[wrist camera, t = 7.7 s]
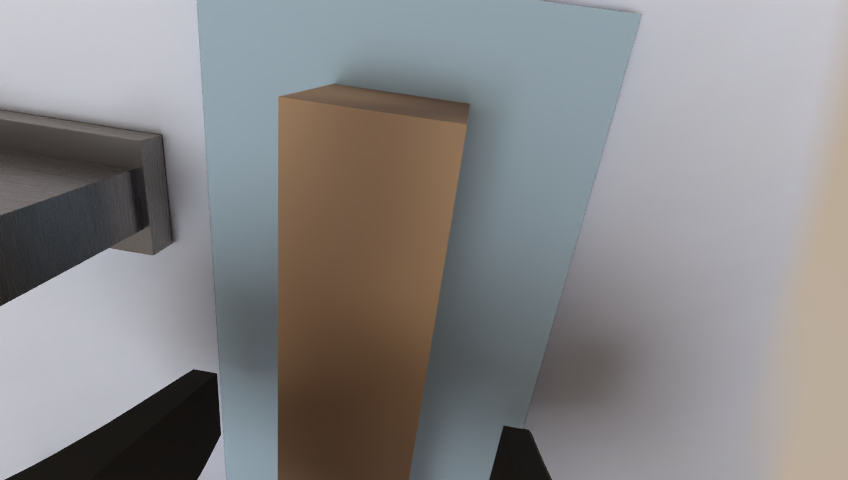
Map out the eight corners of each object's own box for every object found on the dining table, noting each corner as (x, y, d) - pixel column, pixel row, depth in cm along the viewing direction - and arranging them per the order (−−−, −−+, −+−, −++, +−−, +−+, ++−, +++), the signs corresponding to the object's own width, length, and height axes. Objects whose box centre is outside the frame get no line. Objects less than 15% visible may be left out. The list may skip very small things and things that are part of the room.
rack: (161, 135, 11) (-51, 192, 7) (202, 545, 18) (106, 718, 13) (-62, 100, 12) (-409, 133, 7) (56, 516, 18) (-88, 675, 13)
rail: (470, 103, 10) (466, 124, 7) (393, 568, 16) (376, 675, 13) (333, 83, 10) (278, 96, 7) (311, 552, 16) (277, 655, 13)
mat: (632, 16, 9) (641, 14, 9) (468, 598, 17) (468, 616, 17) (209, -42, 10) (193, -47, 9) (239, 552, 18) (231, 569, 17)
